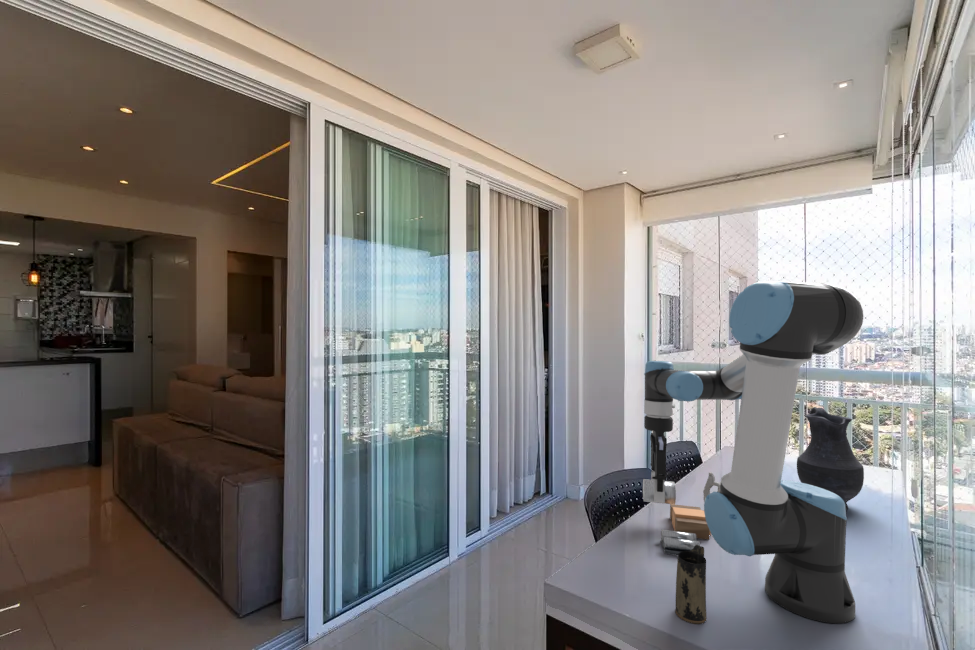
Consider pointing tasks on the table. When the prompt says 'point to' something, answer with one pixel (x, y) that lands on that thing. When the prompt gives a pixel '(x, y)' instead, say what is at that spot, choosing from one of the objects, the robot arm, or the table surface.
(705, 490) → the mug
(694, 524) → the cardboard box
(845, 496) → the pitcher
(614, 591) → the table surface
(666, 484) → the silver metal cylinder
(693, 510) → the orange brown block
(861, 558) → the table surface
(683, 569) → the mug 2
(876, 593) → the table surface
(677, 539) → the v block
